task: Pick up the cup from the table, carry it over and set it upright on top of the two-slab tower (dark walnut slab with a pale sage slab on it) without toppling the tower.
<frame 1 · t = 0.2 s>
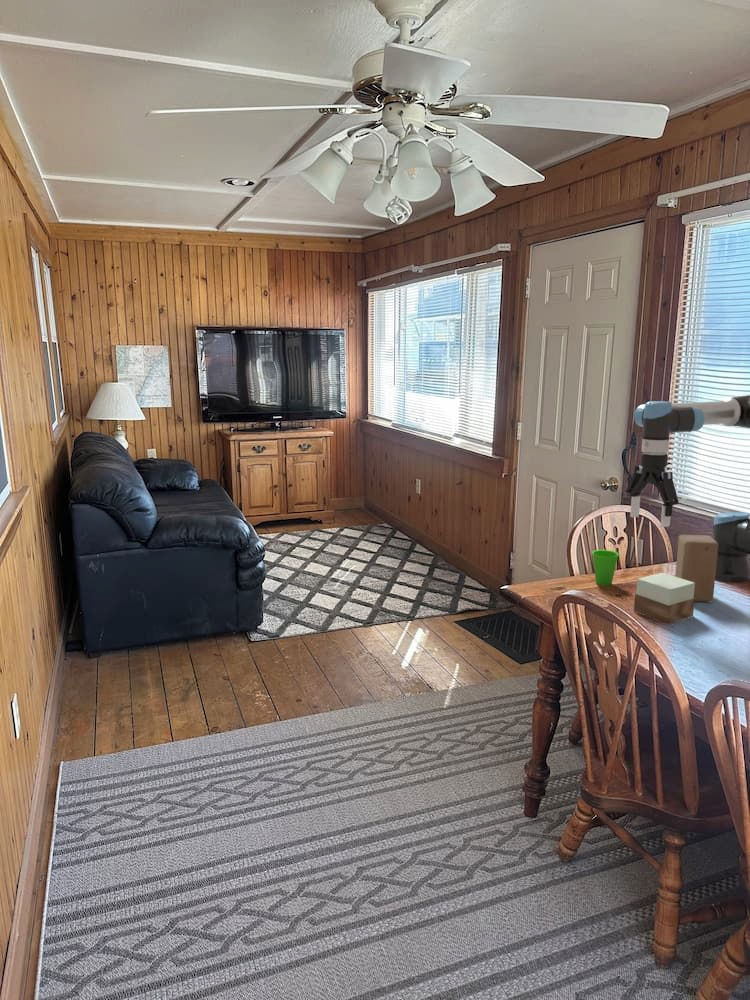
hand: (649, 521, 209), 28 cm above the table, fingers open, 13 cm apart
cup: (603, 584, 236), on the table
tower top: (664, 596, 207), point 6 cm above the table, touching tower base
tower base: (662, 614, 208), on the table, touching tower top
wooden block: (692, 597, 222), on the table
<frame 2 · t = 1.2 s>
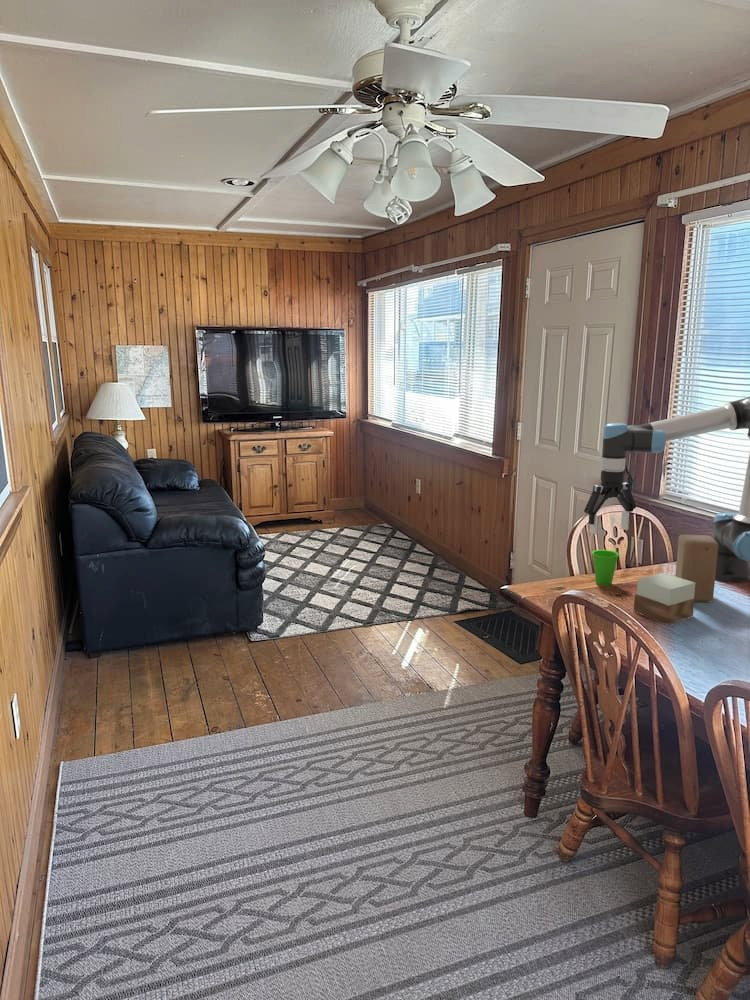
hand: (608, 531, 231), 19 cm above the table, fingers open, 13 cm apart
nothing on the table moved.
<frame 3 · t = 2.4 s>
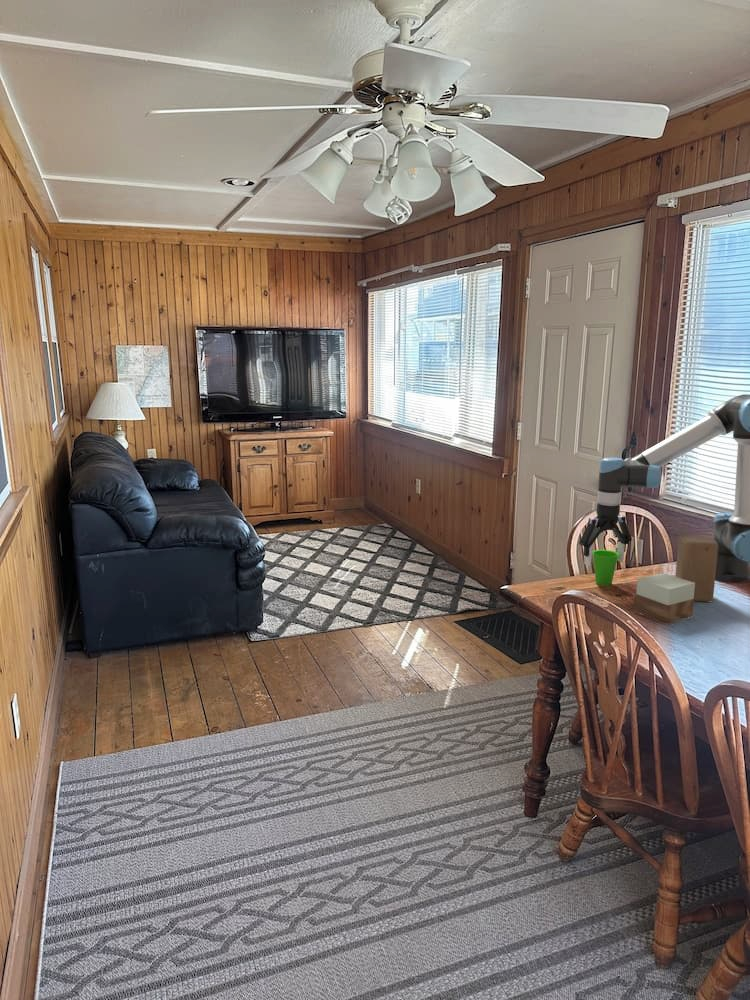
hand: (603, 563, 235), 7 cm above the table, fingers open, 13 cm apart
nothing on the table moved.
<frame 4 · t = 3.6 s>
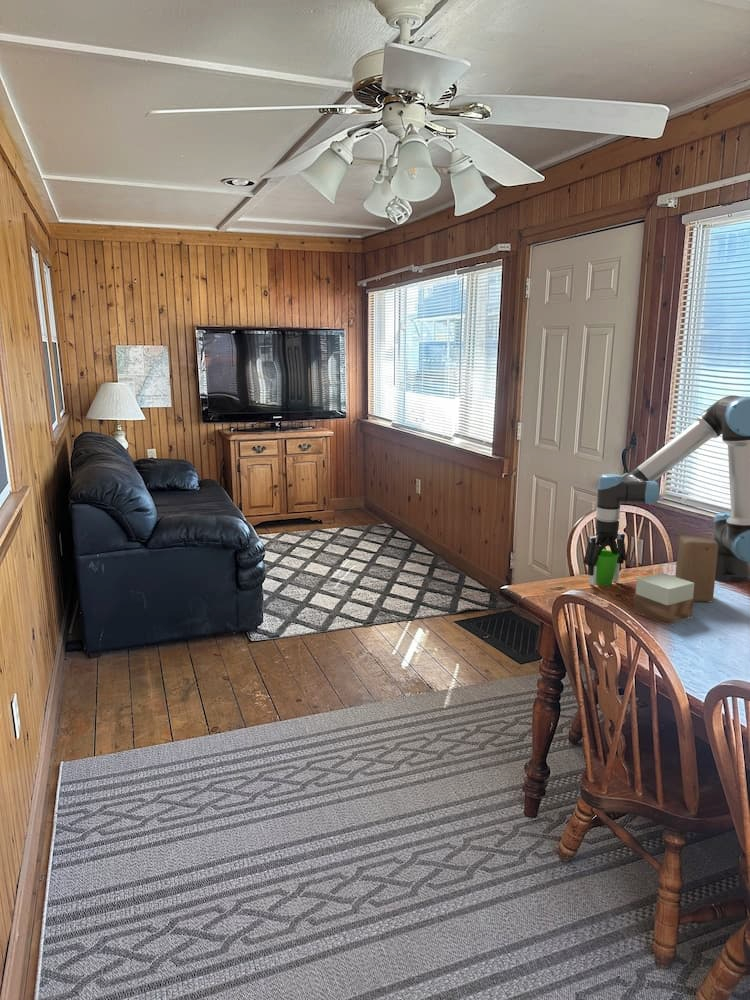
hand: (603, 582, 236), 0 cm above the table, fingers closed on cup, 9 cm apart
cup: (603, 584, 236), on the table, touching gripper
everything else where it was.
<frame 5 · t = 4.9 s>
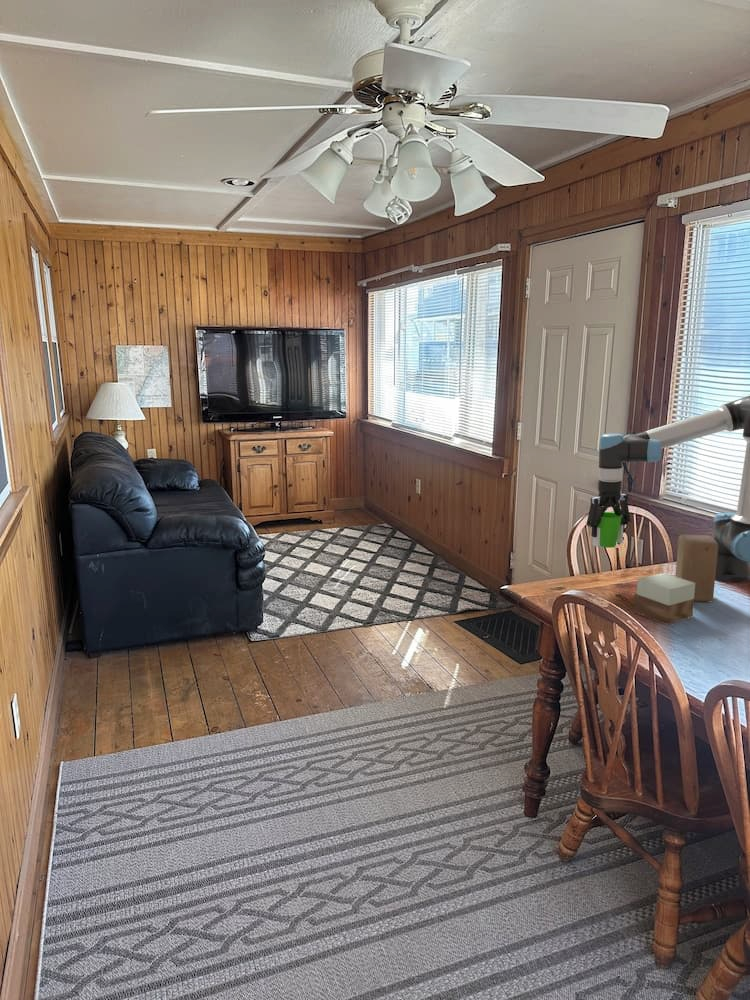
hand: (607, 544, 233), 14 cm above the table, fingers closed on cup, 9 cm apart
cup: (607, 546, 234), point 13 cm above the table, touching gripper
everything else where it was.
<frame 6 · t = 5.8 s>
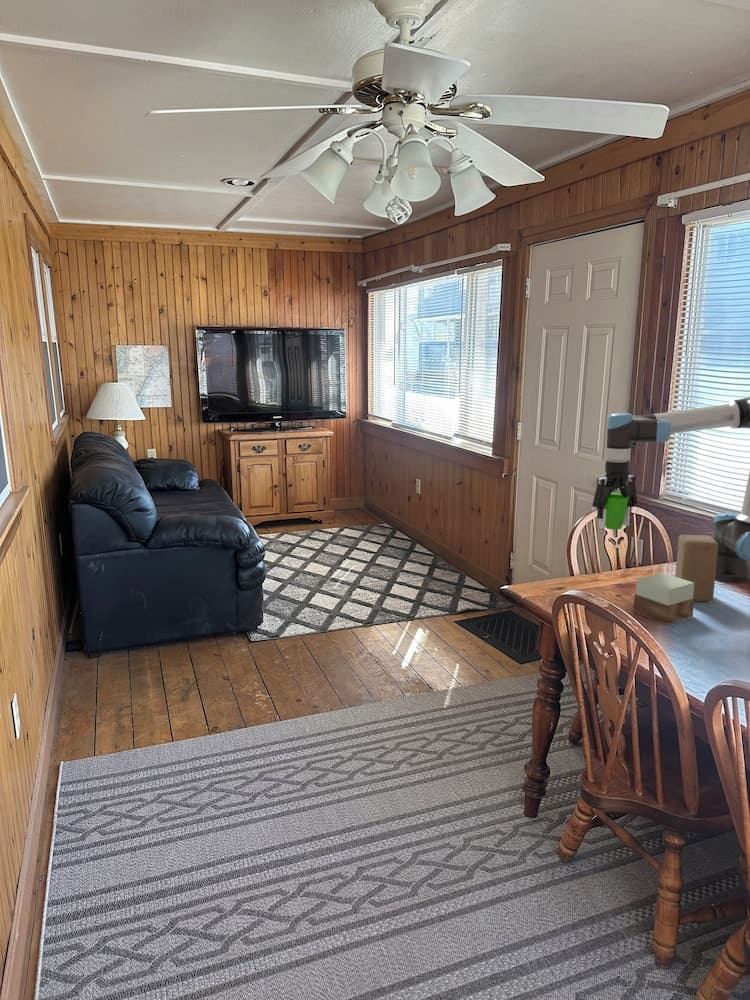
hand: (613, 526, 229), 21 cm above the table, fingers closed on cup, 9 cm apart
cup: (613, 528, 229), point 21 cm above the table, touching gripper
everything else where it was.
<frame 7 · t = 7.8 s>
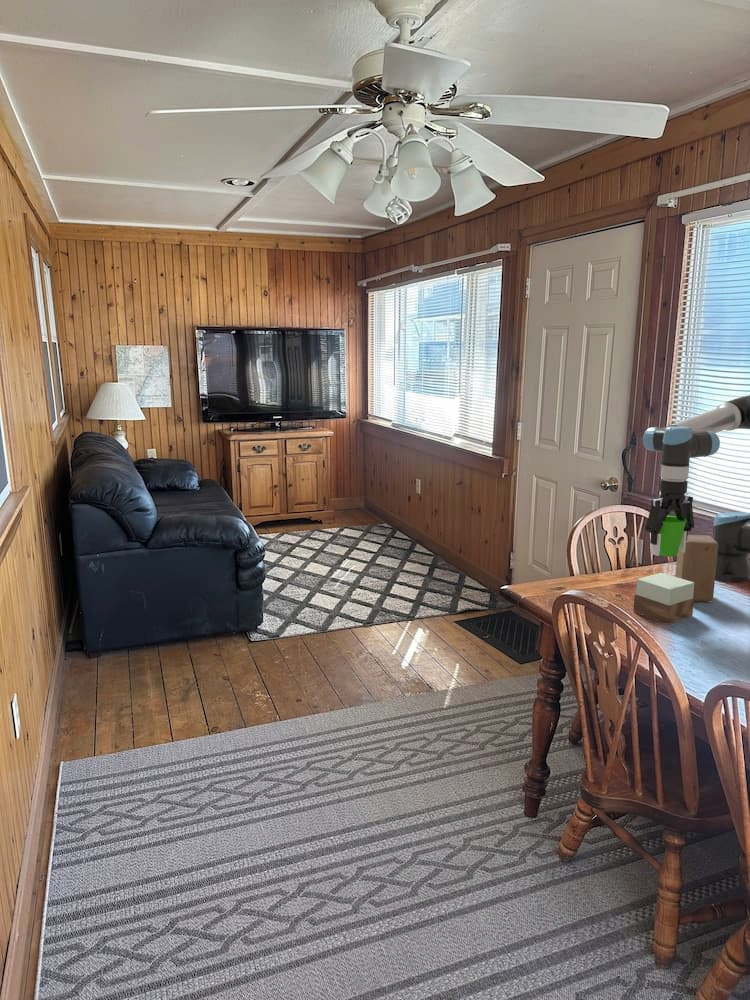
hand: (667, 552, 204), 19 cm above the table, fingers closed on cup, 9 cm apart
cup: (667, 555, 204), point 19 cm above the table, touching gripper
tower top: (664, 596, 207), point 6 cm above the table
tower base: (662, 614, 208), on the table
everything else where it was.
when the fingers open (12 cm above the table, at t = 9.8 s): cup stays where it is, resting on tower top.
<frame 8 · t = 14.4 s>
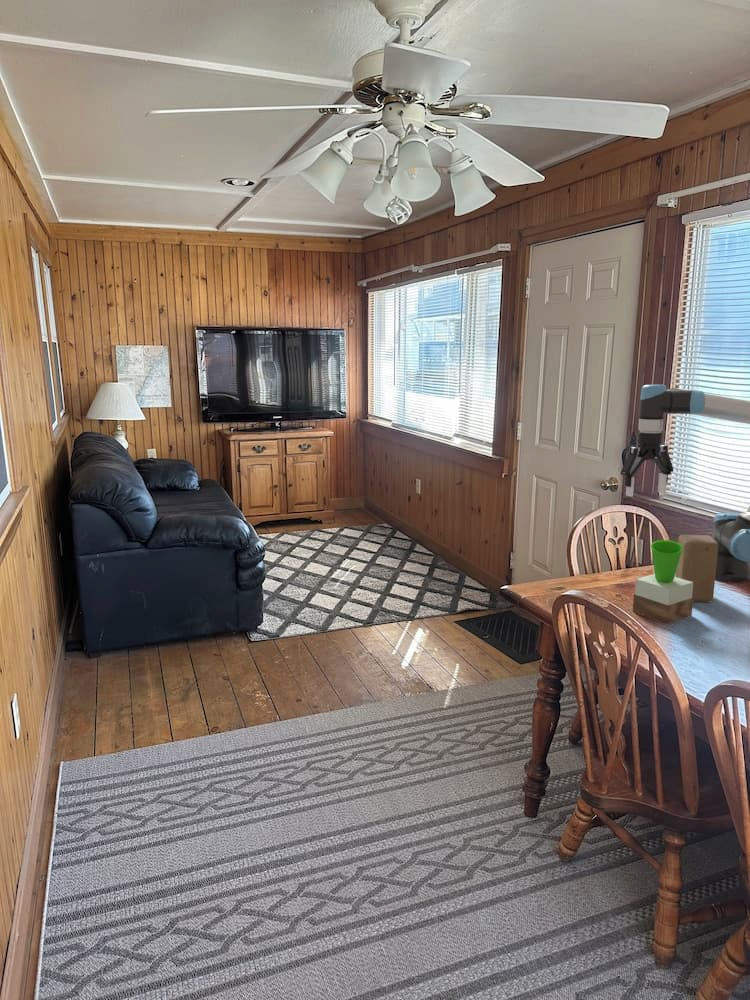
hand: (645, 494, 229), 32 cm above the table, fingers open, 13 cm apart
cup: (664, 579, 206), point 11 cm above the table, touching tower top
tower top: (663, 596, 207), point 6 cm above the table, touching cup, tower base
tower base: (661, 614, 208), on the table, touching tower top
everything else where it was.
at the end: cup inside the target area on the tower base (0.3 cm from its centre), point 11.3 cm above the tower base's base; cup tilted 12°; tower top tilted 0° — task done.
